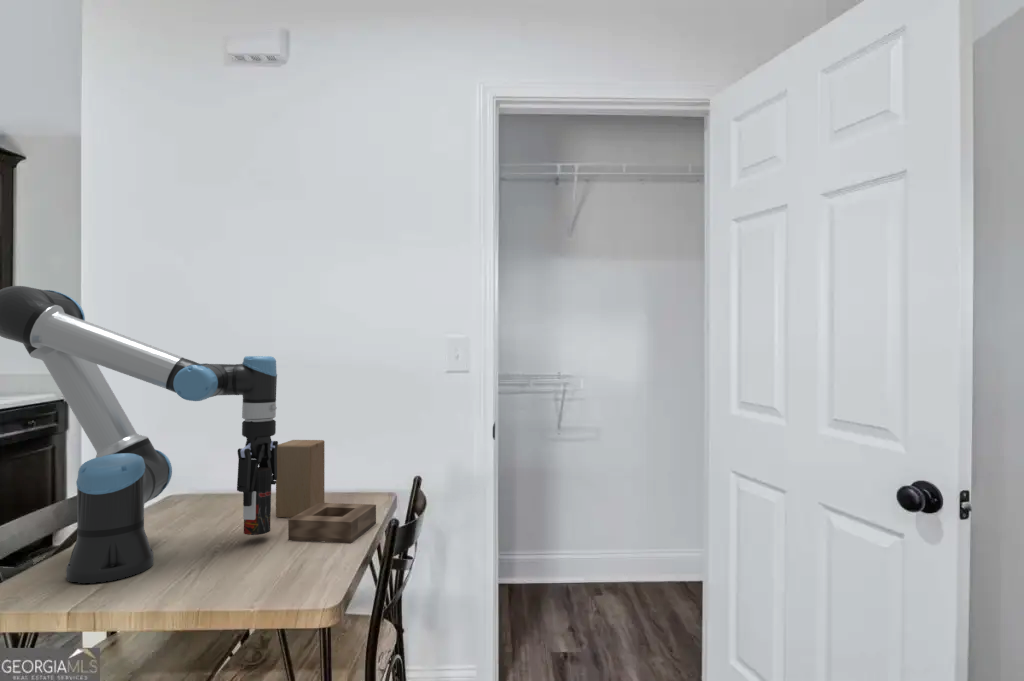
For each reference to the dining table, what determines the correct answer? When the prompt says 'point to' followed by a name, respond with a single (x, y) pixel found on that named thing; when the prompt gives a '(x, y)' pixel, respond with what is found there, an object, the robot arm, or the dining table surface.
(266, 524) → the deodorant
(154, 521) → the dining table surface
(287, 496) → the wooden block
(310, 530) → the socket block
